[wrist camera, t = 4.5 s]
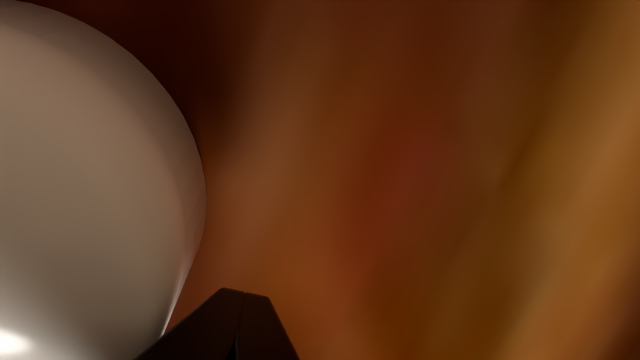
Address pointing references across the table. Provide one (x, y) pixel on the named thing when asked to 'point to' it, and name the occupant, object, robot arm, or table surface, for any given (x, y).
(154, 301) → the off-white rounded piece
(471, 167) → the table surface
